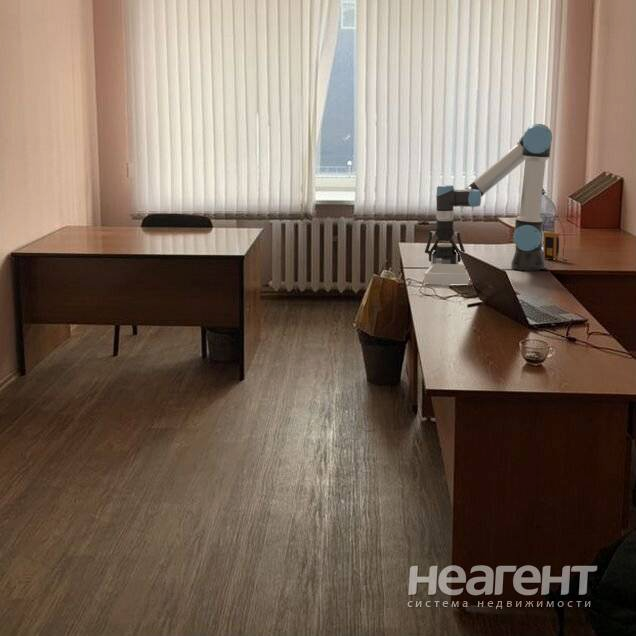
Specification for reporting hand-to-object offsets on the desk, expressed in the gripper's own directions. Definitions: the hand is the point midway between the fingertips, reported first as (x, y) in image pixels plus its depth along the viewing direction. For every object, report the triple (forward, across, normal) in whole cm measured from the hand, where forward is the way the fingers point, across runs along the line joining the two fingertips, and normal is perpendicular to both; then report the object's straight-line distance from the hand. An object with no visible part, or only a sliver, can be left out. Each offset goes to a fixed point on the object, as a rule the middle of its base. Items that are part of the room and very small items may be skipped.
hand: (444, 268), depth 455 cm
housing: (+1, +5, -20) cm, 21 cm away
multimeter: (+2, +47, +42) cm, 63 cm away
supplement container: (+2, 0, 0) cm, 2 cm away
